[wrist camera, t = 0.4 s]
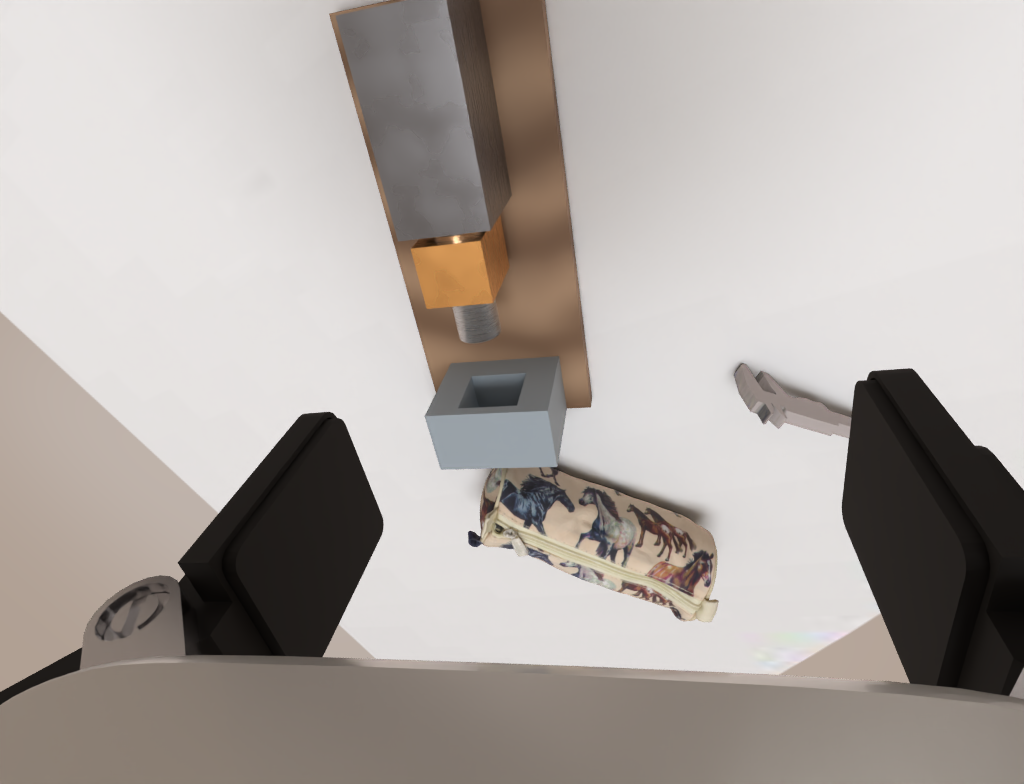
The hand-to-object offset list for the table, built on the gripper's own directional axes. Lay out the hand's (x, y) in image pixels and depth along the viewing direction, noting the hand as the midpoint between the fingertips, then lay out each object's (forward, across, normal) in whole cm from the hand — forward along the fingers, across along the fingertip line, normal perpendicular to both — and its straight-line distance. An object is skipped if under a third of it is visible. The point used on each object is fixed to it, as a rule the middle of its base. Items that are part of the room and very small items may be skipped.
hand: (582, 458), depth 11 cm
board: (+34, +10, +5) cm, 36 cm away
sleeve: (+32, +10, -4) cm, 34 cm away
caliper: (+35, -16, +23) cm, 45 cm away
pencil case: (+35, +5, +32) cm, 47 cm away
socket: (+33, +11, +17) cm, 38 cm away
